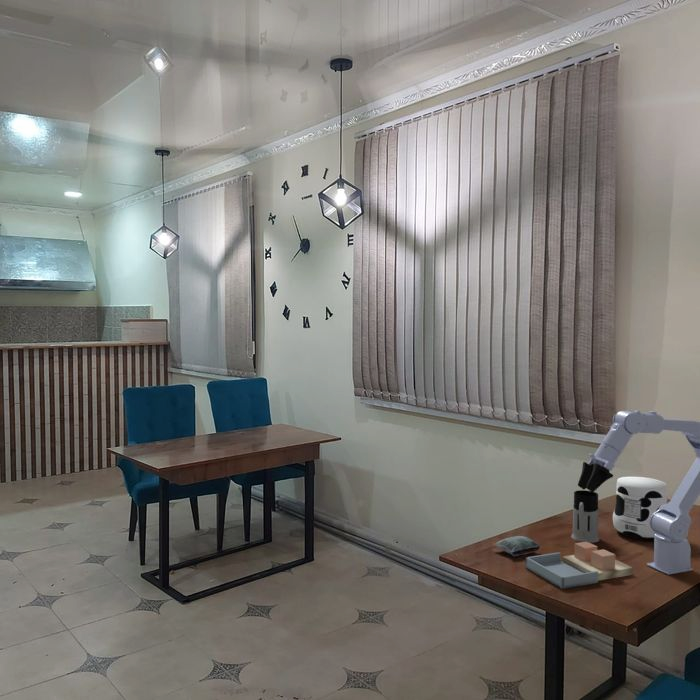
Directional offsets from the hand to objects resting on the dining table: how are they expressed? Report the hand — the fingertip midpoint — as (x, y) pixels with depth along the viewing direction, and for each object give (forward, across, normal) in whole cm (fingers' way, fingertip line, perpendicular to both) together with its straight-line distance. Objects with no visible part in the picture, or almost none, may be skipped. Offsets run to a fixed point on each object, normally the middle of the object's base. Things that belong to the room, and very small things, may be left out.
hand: (585, 488), depth 181 cm
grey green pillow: (+27, -21, 0) cm, 34 cm away
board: (+17, -8, +17) cm, 25 cm away
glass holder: (+11, -33, +19) cm, 39 cm away
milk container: (-1, -40, +36) cm, 53 cm away
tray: (+24, -3, +8) cm, 25 cm away
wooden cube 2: (+15, -4, +17) cm, 23 cm away
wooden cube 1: (+16, -11, +14) cm, 24 cm away
